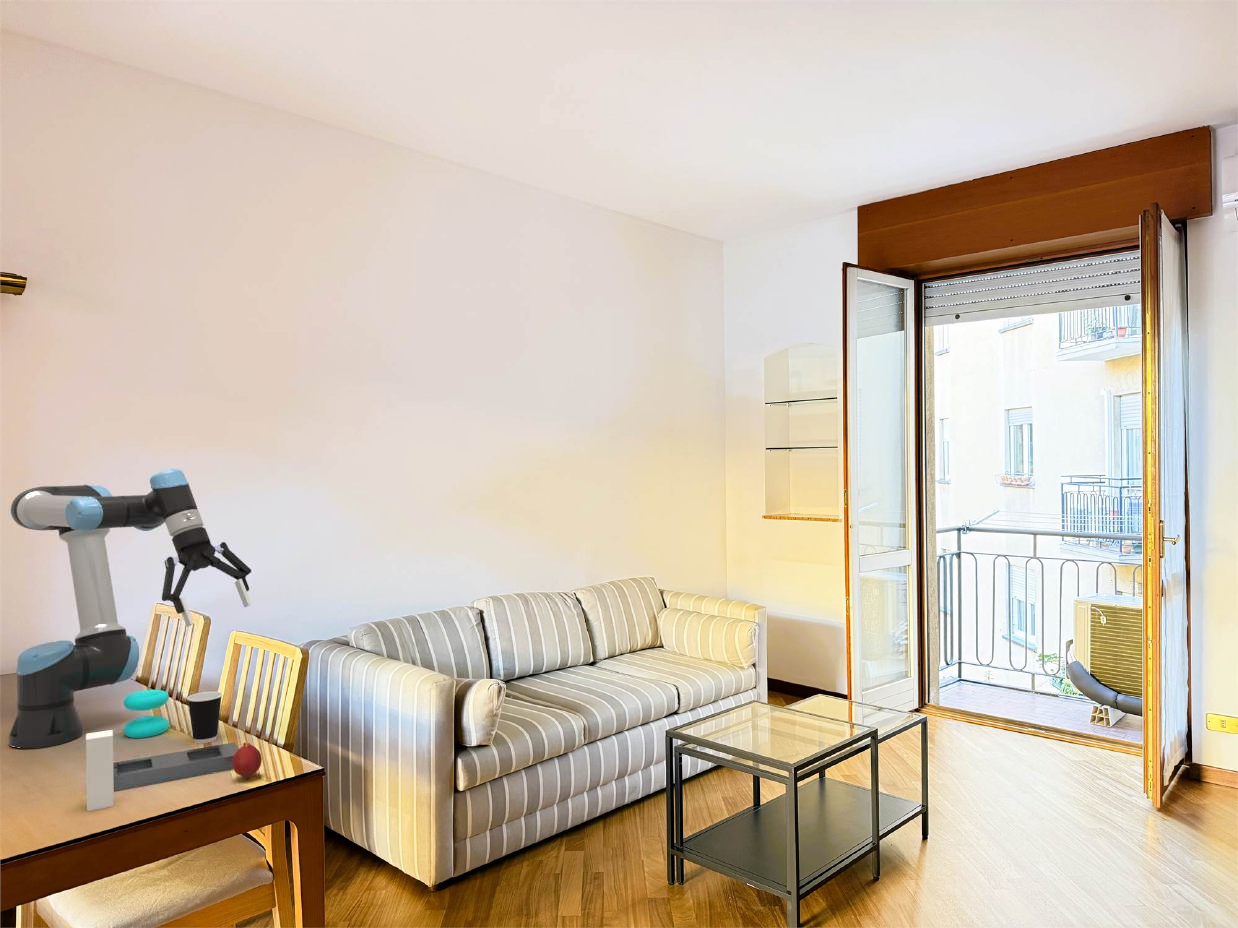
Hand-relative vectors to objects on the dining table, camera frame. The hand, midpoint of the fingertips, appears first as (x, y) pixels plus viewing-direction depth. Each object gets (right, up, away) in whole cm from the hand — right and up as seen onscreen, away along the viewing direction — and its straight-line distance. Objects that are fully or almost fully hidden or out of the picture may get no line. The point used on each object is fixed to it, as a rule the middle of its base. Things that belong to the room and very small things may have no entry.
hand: (219, 615), depth 198 cm
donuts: (-26, -33, +16) cm, 45 cm away
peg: (-10, -32, -30) cm, 45 cm away
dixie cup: (-8, -33, +10) cm, 35 cm away
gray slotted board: (-5, -32, -13) cm, 35 cm away
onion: (+14, -32, -16) cm, 39 cm away
